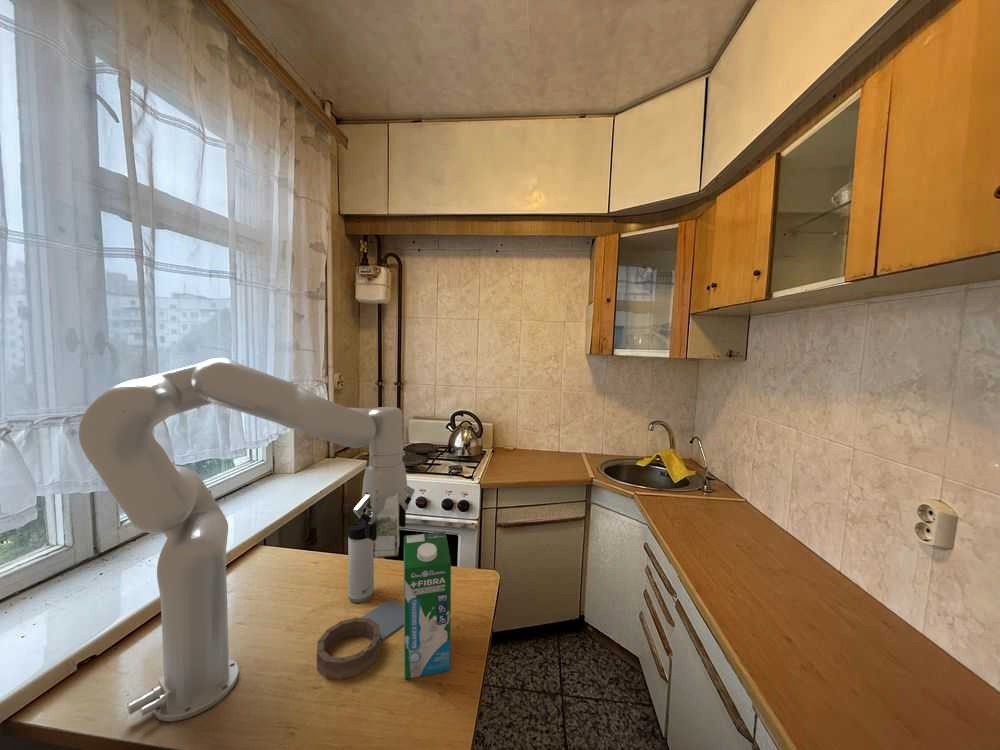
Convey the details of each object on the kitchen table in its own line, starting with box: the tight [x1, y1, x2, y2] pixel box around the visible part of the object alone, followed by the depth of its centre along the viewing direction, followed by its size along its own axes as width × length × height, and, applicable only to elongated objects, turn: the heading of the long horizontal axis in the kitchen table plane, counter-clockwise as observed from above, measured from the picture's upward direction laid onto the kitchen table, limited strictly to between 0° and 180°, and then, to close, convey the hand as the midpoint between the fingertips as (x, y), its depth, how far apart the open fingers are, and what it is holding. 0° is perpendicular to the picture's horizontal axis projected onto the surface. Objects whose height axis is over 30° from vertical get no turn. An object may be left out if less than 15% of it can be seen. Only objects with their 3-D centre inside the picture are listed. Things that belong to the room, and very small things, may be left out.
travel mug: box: [347, 519, 375, 604], centre depth 98 cm, size 6×7×20 cm
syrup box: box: [373, 493, 400, 559], centre depth 89 cm, size 6×6×14 cm
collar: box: [316, 616, 382, 681], centre depth 79 cm, size 12×12×4 cm
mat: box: [360, 598, 404, 642], centre depth 90 cm, size 10×10×1 cm
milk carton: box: [403, 530, 452, 680], centre depth 78 cm, size 9×9×25 cm
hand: (386, 531), depth 89 cm, fingers closed on syrup box, 7 cm apart
